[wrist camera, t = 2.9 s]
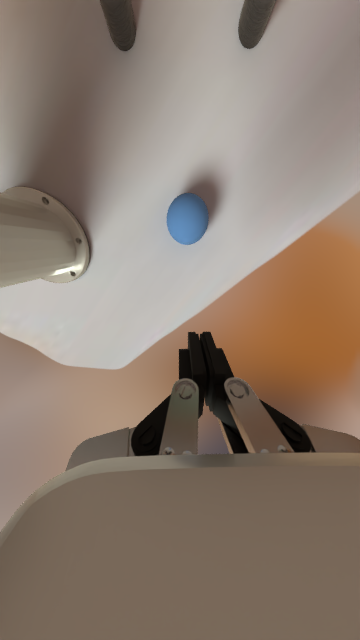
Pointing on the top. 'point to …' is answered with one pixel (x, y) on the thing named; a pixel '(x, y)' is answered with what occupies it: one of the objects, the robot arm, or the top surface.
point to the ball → (187, 218)
